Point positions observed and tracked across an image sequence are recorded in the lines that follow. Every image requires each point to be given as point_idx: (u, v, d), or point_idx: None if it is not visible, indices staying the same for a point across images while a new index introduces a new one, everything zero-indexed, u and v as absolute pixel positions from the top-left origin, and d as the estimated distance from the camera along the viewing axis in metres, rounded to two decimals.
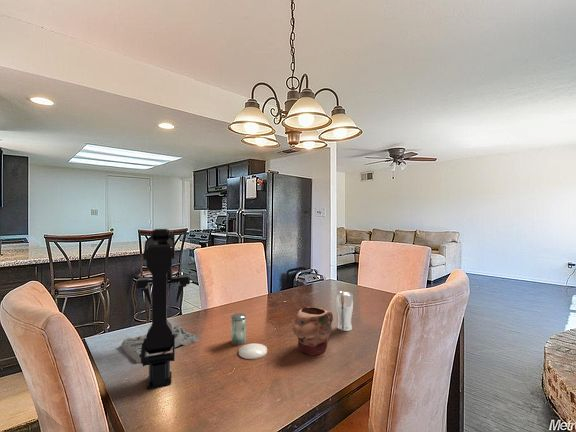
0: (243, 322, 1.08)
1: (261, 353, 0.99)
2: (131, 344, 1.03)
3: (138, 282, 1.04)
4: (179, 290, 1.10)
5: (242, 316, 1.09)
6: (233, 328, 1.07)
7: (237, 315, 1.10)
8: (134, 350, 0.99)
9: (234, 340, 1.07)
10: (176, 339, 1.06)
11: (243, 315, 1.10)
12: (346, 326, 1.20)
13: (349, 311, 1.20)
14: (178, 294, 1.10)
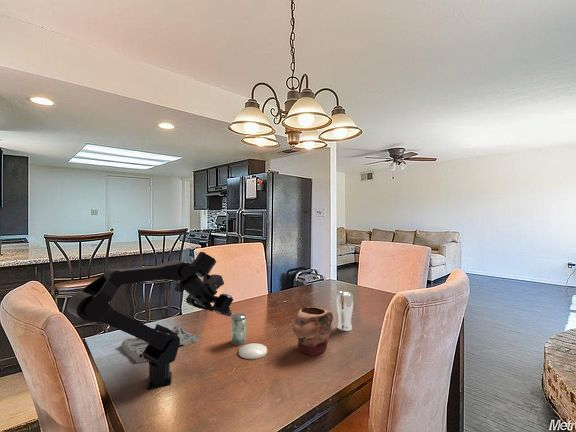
0: (243, 322, 1.08)
1: (261, 353, 0.99)
2: (131, 344, 1.03)
3: (186, 301, 1.01)
4: None
5: (242, 316, 1.09)
6: (233, 328, 1.07)
7: (237, 315, 1.10)
8: (134, 350, 0.99)
9: (234, 340, 1.07)
10: None
11: (243, 315, 1.10)
12: (346, 326, 1.20)
13: (349, 311, 1.20)
14: None
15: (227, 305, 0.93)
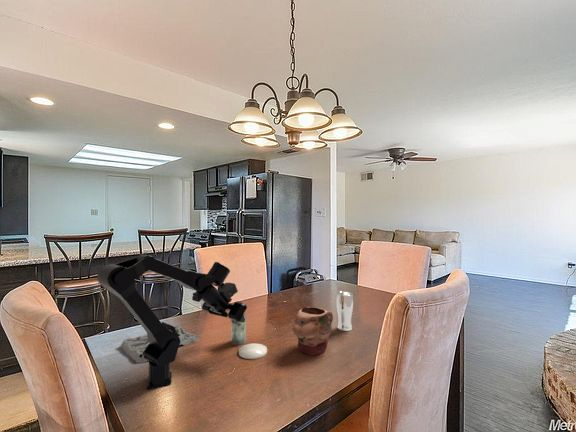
0: None
1: (261, 353, 0.99)
2: (131, 344, 1.03)
3: (202, 308, 1.06)
4: None
5: None
6: (233, 328, 1.07)
7: None
8: (134, 350, 0.99)
9: (234, 340, 1.07)
10: None
11: None
12: (346, 326, 1.20)
13: (349, 311, 1.20)
14: (238, 321, 1.02)
15: (241, 313, 0.98)
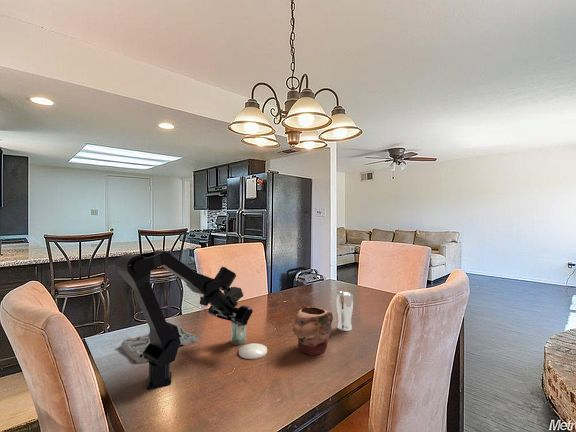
0: None
1: (261, 353, 0.99)
2: (131, 344, 1.03)
3: (208, 311, 1.09)
4: None
5: None
6: (233, 328, 1.07)
7: None
8: (134, 350, 0.99)
9: (234, 340, 1.07)
10: None
11: None
12: (346, 326, 1.20)
13: (349, 311, 1.20)
14: None
15: (247, 316, 1.00)
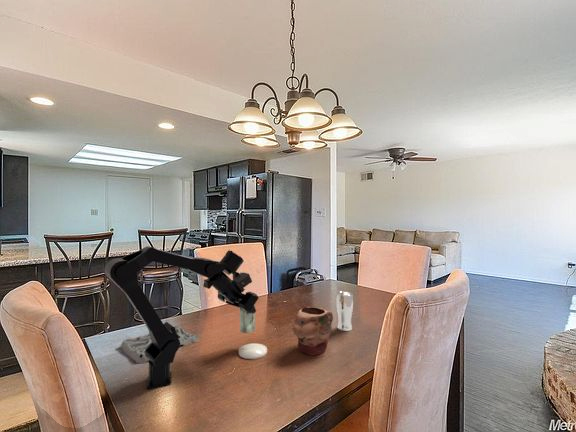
0: None
1: (261, 353, 0.99)
2: (131, 344, 1.03)
3: (218, 296, 1.06)
4: None
5: None
6: (241, 315, 1.03)
7: None
8: (134, 350, 0.99)
9: (241, 328, 1.03)
10: None
11: None
12: (346, 326, 1.20)
13: (349, 311, 1.20)
14: None
15: (252, 303, 0.95)
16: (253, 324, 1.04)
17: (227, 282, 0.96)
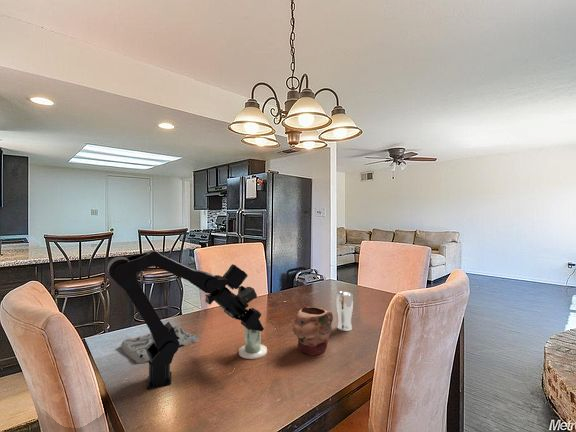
0: None
1: (261, 353, 0.99)
2: (131, 345, 1.02)
3: (224, 310, 1.04)
4: None
5: None
6: (245, 334, 1.00)
7: None
8: (134, 351, 0.98)
9: (246, 347, 1.00)
10: None
11: None
12: (346, 326, 1.20)
13: (349, 311, 1.20)
14: (254, 329, 0.96)
15: (254, 321, 0.91)
16: (258, 344, 1.00)
17: (229, 298, 0.93)
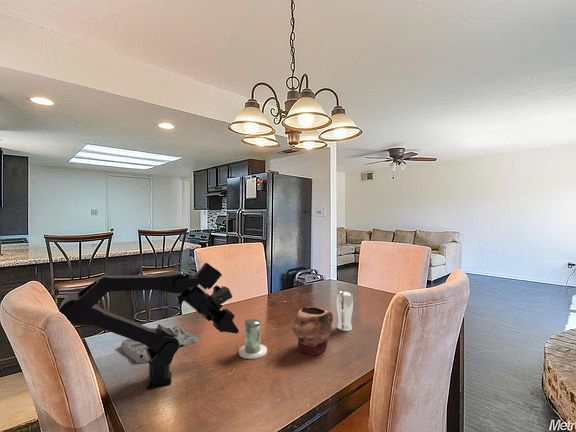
0: (256, 329, 0.99)
1: (261, 353, 0.99)
2: (131, 345, 1.02)
3: None
4: None
5: (255, 322, 1.00)
6: (245, 334, 1.00)
7: (251, 321, 1.02)
8: (134, 351, 0.98)
9: (246, 347, 1.00)
10: None
11: (257, 321, 1.01)
12: (346, 326, 1.20)
13: (349, 311, 1.20)
14: (227, 331, 0.91)
15: (226, 322, 0.86)
16: (258, 344, 1.00)
17: (201, 298, 0.88)
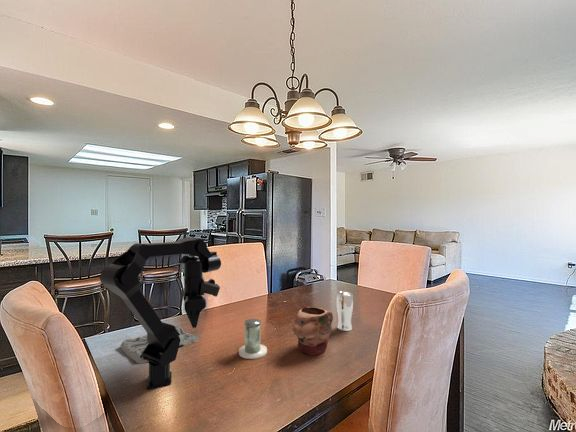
0: (256, 329, 0.99)
1: (261, 353, 0.99)
2: (131, 345, 1.02)
3: None
4: None
5: (255, 322, 1.00)
6: (245, 334, 1.00)
7: (251, 321, 1.02)
8: (134, 351, 0.98)
9: (246, 347, 1.00)
10: None
11: (257, 321, 1.01)
12: (346, 326, 1.20)
13: (349, 311, 1.20)
14: None
15: (195, 305, 0.86)
16: (258, 344, 1.00)
17: (200, 271, 0.94)
